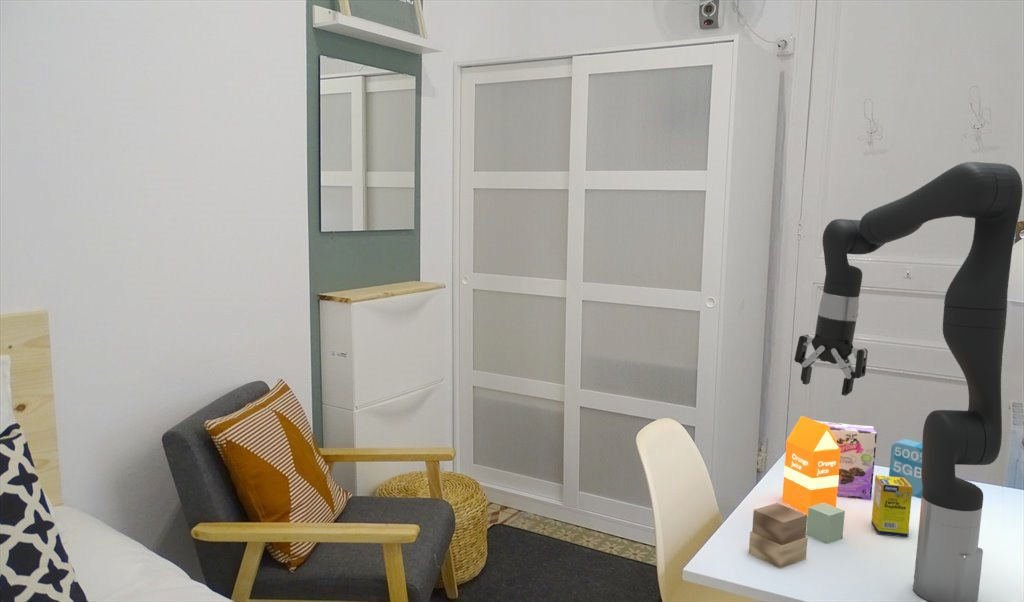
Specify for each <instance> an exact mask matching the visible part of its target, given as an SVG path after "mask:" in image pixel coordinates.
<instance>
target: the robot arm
mask: <svg viewBox="0 0 1024 602" xmlns="http://www.w3.org/2000/svg"><path fill="white" fill-rule="evenodd" d="M1022 182H1023V181H1022V178H1021V174H1020V173H1019V172H1018V170H1017V169H1016V168H1015V167H1013V166H1012V165H1009V164H1006V163H997V162H981V161H967V162H962V163H959V164H956V165H955V166H953V167H951V168H949V169H947V170H946V171H944V172H943V173H941V174H940V175H938V176H936V177H935V178H934V179H932V180H930V181H929V182H927V183H925V184H924V185H922V186H921V187H919V188H918V189H916V190H914V191H912V192H911V193H908V194H907V195H904V196H903V197H900V198H898V199H896V200H894V201H891V202H888V203H886V204H884V205H880V206H879V207H876V208H873V209H871V210H869V211H867V212H866V213H865V214H864V215H863V216H862V217H861V219H846V218H843V219H842V218H836V219H833V220H831V221H830V222H829V223H827V225H826V226H825V229H824V230H823V234H822V248H823V249H822V250H823V257H824V265H825V278H824V284H823V290H822V295H821V298H820V302H819V305H818V306H819V307H818V312H817V319H816V326H815V332H814V333H815V334H814V337H811V336H810V335H808V334H803V335H800V336H799V337H798V341H797V345H796V351H795V355H794V361H795V363H798V364H800V365H801V367H802V368H801V374H800V381H801V383H802V385H806V386H807V385H810V382H811V377H812V371H813V367H812V365H813V364H815V363H816V362H817V361H818V360H820V361H821V362H828V363H830V364H833V365H838V367H839V368H840V370H841V371H842V372H843V375H844V376H845V377H844V378H843V383H842V389H841V396H845V397H846V396H848V395H850V394H851V393H852V392H853V388H854V387H853V386H854V381H855V379H860V378H863V377H865V376H866V370H867V362H868V361H867V360H868V353H869V352H868V351H869V350H868V349H867V348H865V347H863V348H859V347H858V348H857V347H854V345H853V344H854V343H853V342H854V338H855V337H854V336H855V331H856V325H857V318H858V316H859V308H860V307H859V306H860V301H859V300H860V293H861V290H862V289H861V287H862V282H863V271H862V269H861V268H859V267H857V266H854V265H851V264H850V263H849V259H848V255H867V254H871V253H873V252H875V251H877V250H879V249H880V248H882V247H883V246H884V245H885V244H887V243H891V242H893V241H896V240H900V239H902V238H905V237H907V236H910V235H912V234H914V233H915V232H917V231H918V230H919V229H920V228H921V227H922V226H923V225H924V224H925V223H927V222H929V221H933V220H937V219H944V218H950V217H951V218H952V217H962V218H966V219H967V218H968V219H974V228H973V229H974V231H973V238H972V243H971V247H970V250H969V252H968V255H966V256H967V257H966V258H965V260H964V261H963V263H962V265H961V266H960V268H958V271H957V272H956V274H955V275H954V277H953V278H952V280H951V282H950V284H949V286H948V287H947V290H946V293H945V296H944V303H943V305H944V306H943V314H942V315H943V316H942V334H943V339H944V341H945V343H946V345H947V347H948V349H949V351H950V352H951V354H952V355H953V357H954V359H955V361H956V362H957V364H958V366H959V367H960V370H961V371H962V373H963V376H964V377H965V380H966V383H967V391H968V407H967V410H958V409H957V410H956V409H955V410H954V409H950V410H949V409H935V410H932V411H931V412H930V413H928V415H927V417H926V418H925V421H924V424H923V429H922V440H921V441H922V442H921V443H922V467H921V478H922V488H923V489H922V498H921V502H920V512H919V520H918V521H919V522H918V523H919V524H918V530H917V531H918V534H917V540H916V541H917V542H916V551H915V552H916V555H915V564H914V572H913V573H914V575H913V584H912V585H913V587H912V589H913V591H914V592H915V593H916V595H918V596H920V597H921V598H923V599H925V600H927V601H929V602H978V600H979V593H980V585H981V584H980V581H981V574H982V564H983V555H984V551H983V550H984V549H982V547H979V541H980V530H981V524H982V523H981V521H982V512H983V503H984V491H982V489H981V488H980V487H979V486H978V485H976V484H974V483H972V482H971V481H968V480H965V479H963V478H960V477H957V476H956V465H958V466H959V465H962V466H967V465H968V466H986V465H991V464H993V463H994V462H996V460H997V459H998V457H999V454H1000V451H1001V447H1002V439H1003V436H1002V435H1003V422H1002V421H1003V417H1002V412H1003V411H1002V410H1003V409H1002V371H1003V370H1002V367H1003V353H1004V342H1005V334H1006V326H1007V311H1008V310H1007V309H1008V294H1009V293H1008V291H1009V281H1010V273H1011V263H1012V255H1013V254H1012V253H1013V248H1014V242H1015V237H1016V236H1015V235H1016V231H1017V227H1018V223H1019V217H1020V212H1021V206H1022V200H1023V199H1022V198H1023V183H1022ZM811 345H812V347H813V349H814V351H813V352H812V353H811V354H810V355H808V357H807V358H806V355H807V352H808V351H807V350H808V347H810V346H811ZM852 354H853V356H854V359H855V367H853V363H852V361H851V359H850V356H851V355H852ZM854 368H855V369H854Z"/></svg>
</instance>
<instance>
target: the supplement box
mask: <svg viewBox="0 0 1024 602" xmlns="http://www.w3.org/2000/svg"><path fill="white" fill-rule="evenodd" d="M912 488H913V487H912V486H911V485H910V484H909V482H908V481H907V480H906V479H905V478H903V477H892V476H889V475H881V474H880V475H879V474H878V475H877V474H876V475H875V477H874V488H873V503H872V511H871V515H872V516H871V525H872V526H873V528H874V530H875V531H876V532H877V534H878V535H884V536H886V535H887V536H894V537H904V538H905V537H906V538H907V537H909V528H910V520H911V519H910V516H911V508H912V497H913V496H912Z"/></svg>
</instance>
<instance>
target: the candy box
mask: <svg viewBox="0 0 1024 602" xmlns="http://www.w3.org/2000/svg"><path fill="white" fill-rule="evenodd" d="M813 420H814V419H813ZM814 421H817V422H820V423H822V424H825V425H828V426H829V428H830V430H831V432H832V434H833V436H834V438H835V440H836V442H837V444H838V446H839V448H840V449H841V452H840V464H839V480H838V489H837V497H843V498H844V497H845V498H851V499H858V500H859V499H860V500H869V501H871V500H872V494H873V493H872V492H873V482H874V471H875V460H876V450H877V449H876V447H877V439H878V433H877V431H876V429H875V427H874V426H872V425H859V424H850V423H841V422H830V421H821V420H814Z"/></svg>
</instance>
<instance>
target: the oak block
mask: <svg viewBox="0 0 1024 602" xmlns="http://www.w3.org/2000/svg"><path fill="white" fill-rule="evenodd" d="M807 548H808V537H806V538H803V539H800V540H797V541H794V542H791V543H788V544H785V545H780V544H778V543H775V542H773V541H771V540H769V539H767V538H764V537H762V536H760V535H758V534H756V533H753V532H752V531H749V543H748V554H750V555H752V556H753V557H754V556H755V557H756V558H758V559H760V560H762V561H764V562H767V563H768V564H771V565H773V566H774V567H777V568H779V569H783V568H785V567H788V566H790V565H795V564H796V563H799V562H802V561H805V560H807V550H808V549H807Z"/></svg>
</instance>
